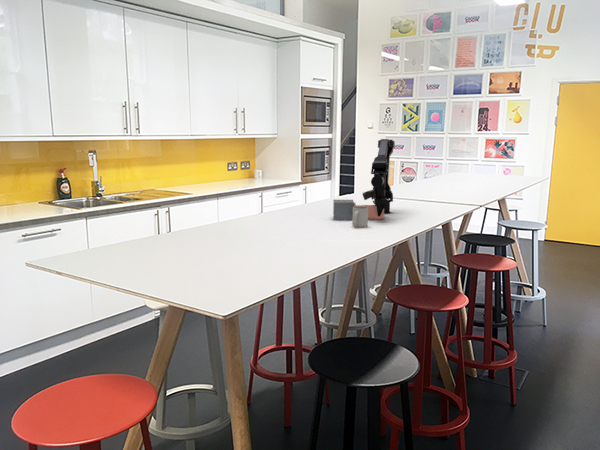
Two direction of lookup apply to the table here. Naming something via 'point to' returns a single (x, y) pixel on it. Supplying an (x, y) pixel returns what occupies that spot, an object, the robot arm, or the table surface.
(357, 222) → the cup
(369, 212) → the pink ridged slab
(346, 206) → the dark grey block
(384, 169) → the robot arm
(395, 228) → the table surface
